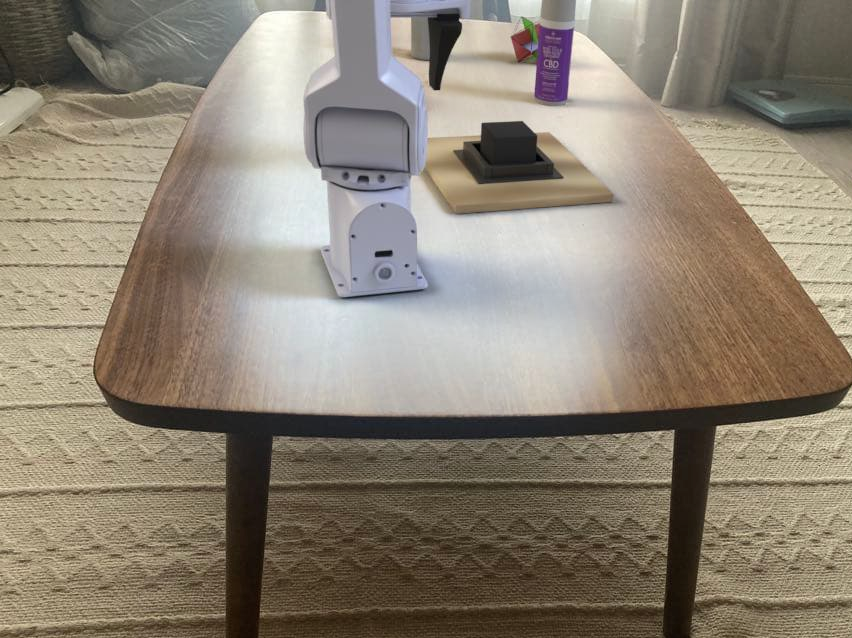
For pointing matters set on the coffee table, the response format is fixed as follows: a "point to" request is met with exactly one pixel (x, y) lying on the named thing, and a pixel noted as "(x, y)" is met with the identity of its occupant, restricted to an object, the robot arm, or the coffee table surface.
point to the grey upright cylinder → (420, 38)
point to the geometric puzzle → (526, 41)
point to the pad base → (510, 177)
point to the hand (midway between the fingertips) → (399, 88)
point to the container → (554, 51)
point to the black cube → (507, 143)
